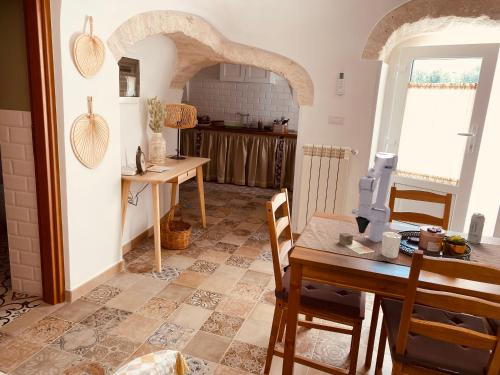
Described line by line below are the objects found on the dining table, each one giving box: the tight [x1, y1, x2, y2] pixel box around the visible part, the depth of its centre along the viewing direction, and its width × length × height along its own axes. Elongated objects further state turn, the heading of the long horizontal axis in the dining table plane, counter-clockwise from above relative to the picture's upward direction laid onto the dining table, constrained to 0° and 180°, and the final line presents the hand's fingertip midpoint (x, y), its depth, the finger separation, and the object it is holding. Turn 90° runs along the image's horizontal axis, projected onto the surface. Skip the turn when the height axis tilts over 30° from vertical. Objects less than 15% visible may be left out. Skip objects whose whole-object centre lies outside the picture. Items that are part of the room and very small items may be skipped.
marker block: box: [338, 232, 354, 246], centre depth 184 cm, size 4×4×4 cm
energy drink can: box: [467, 212, 486, 245], centre depth 195 cm, size 6×6×15 cm
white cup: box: [381, 231, 402, 259], centre depth 172 cm, size 8×8×10 cm
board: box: [338, 239, 376, 255], centre depth 181 cm, size 9×16×1 cm, turn 24°
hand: (361, 232), depth 173 cm, fingers closed
